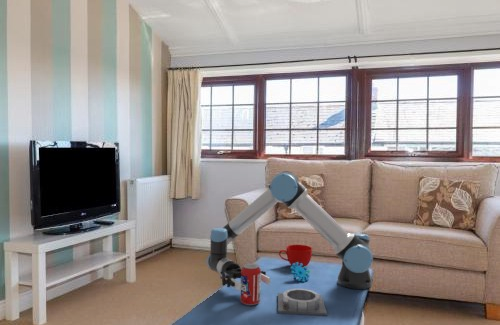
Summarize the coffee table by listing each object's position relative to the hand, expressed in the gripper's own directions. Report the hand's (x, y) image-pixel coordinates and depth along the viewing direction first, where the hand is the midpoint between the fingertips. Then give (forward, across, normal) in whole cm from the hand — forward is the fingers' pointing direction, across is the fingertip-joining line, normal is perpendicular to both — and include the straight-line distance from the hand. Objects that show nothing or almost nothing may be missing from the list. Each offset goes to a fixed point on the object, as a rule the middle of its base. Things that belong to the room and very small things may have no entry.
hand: (255, 284), depth 163 cm
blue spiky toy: (-16, -35, -9) cm, 40 cm away
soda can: (-3, 0, -9) cm, 9 cm away
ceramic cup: (-33, -45, -9) cm, 56 cm away
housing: (+8, -16, -8) cm, 20 cm away
